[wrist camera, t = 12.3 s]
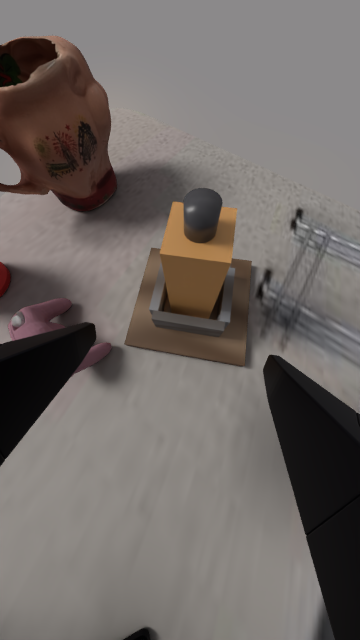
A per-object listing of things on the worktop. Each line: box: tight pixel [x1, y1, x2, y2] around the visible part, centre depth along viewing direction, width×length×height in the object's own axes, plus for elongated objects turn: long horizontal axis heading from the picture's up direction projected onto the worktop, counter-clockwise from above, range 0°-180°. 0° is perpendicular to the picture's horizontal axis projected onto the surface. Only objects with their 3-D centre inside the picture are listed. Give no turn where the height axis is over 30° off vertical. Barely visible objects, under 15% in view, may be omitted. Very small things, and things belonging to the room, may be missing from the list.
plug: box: [160, 188, 237, 319], centre depth 16 cm, size 5×5×13 cm
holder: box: [124, 248, 252, 366], centre depth 21 cm, size 14×14×4 cm
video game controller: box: [8, 298, 111, 377], centre depth 20 cm, size 10×5×7 cm, turn 46°
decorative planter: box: [0, 36, 117, 211], centre depth 23 cm, size 20×12×14 cm, turn 150°
